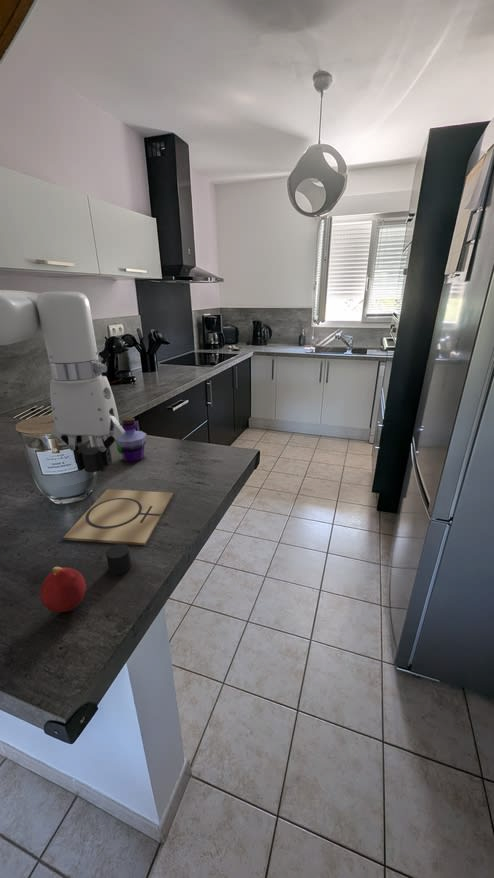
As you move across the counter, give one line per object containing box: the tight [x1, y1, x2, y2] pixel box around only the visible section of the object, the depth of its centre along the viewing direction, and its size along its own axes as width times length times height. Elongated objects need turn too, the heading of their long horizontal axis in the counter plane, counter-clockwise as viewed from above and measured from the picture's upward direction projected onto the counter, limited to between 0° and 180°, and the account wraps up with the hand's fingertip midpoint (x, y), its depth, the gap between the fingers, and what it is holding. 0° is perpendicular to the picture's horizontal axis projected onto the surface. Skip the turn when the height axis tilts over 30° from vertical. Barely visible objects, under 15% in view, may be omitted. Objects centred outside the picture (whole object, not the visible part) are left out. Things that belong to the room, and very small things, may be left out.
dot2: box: [105, 544, 133, 576], centre depth 60 cm, size 4×4×4 cm
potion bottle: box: [114, 416, 148, 464], centre depth 98 cm, size 9×9×12 cm
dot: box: [81, 446, 101, 473], centre depth 66 cm, size 4×4×4 cm
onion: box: [39, 566, 87, 614], centre depth 51 cm, size 6×6×8 cm
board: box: [62, 488, 174, 546], centre depth 75 cm, size 16×18×1 cm
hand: (94, 466), depth 67 cm, fingers closed on dot, 3 cm apart
